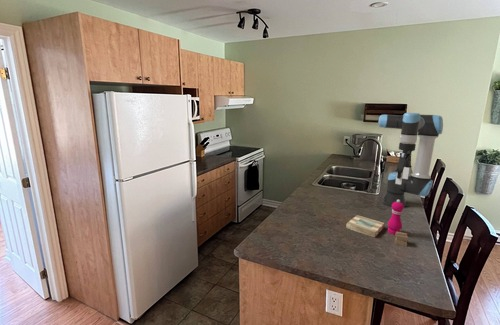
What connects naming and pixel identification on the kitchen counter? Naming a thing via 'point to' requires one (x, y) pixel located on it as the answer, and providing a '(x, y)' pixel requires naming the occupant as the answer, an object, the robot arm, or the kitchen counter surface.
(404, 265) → the kitchen counter surface
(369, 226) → the base plate
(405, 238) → the block
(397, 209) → the pepper mill
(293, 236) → the kitchen counter surface
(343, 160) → the kitchen counter surface
